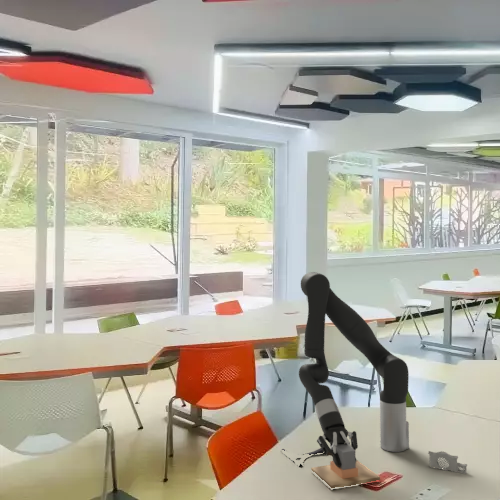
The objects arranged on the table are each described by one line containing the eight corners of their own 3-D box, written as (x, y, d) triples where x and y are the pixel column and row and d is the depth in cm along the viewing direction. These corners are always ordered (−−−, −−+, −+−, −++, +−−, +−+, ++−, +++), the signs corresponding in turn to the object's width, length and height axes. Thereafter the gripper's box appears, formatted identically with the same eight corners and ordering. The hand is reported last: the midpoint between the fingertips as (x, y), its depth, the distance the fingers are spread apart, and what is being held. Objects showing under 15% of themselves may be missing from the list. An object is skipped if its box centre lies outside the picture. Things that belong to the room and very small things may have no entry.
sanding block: (345, 466, 181) (345, 442, 181) (358, 476, 174) (357, 450, 174) (330, 468, 180) (330, 444, 179) (342, 478, 172) (341, 453, 172)
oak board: (357, 464, 186) (357, 460, 186) (380, 482, 173) (380, 476, 173) (311, 472, 181) (311, 467, 181) (331, 490, 167) (331, 485, 167)
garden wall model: (467, 472, 179) (467, 454, 179) (466, 475, 177) (466, 456, 177) (429, 465, 185) (429, 448, 185) (428, 467, 183) (428, 450, 183)
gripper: (313, 412, 181) (330, 463, 170) (351, 407, 186) (371, 456, 174) (306, 423, 186) (323, 473, 175) (344, 418, 191) (362, 467, 180)
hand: (347, 465), depth 175 cm, fingers closed on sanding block, 4 cm apart
